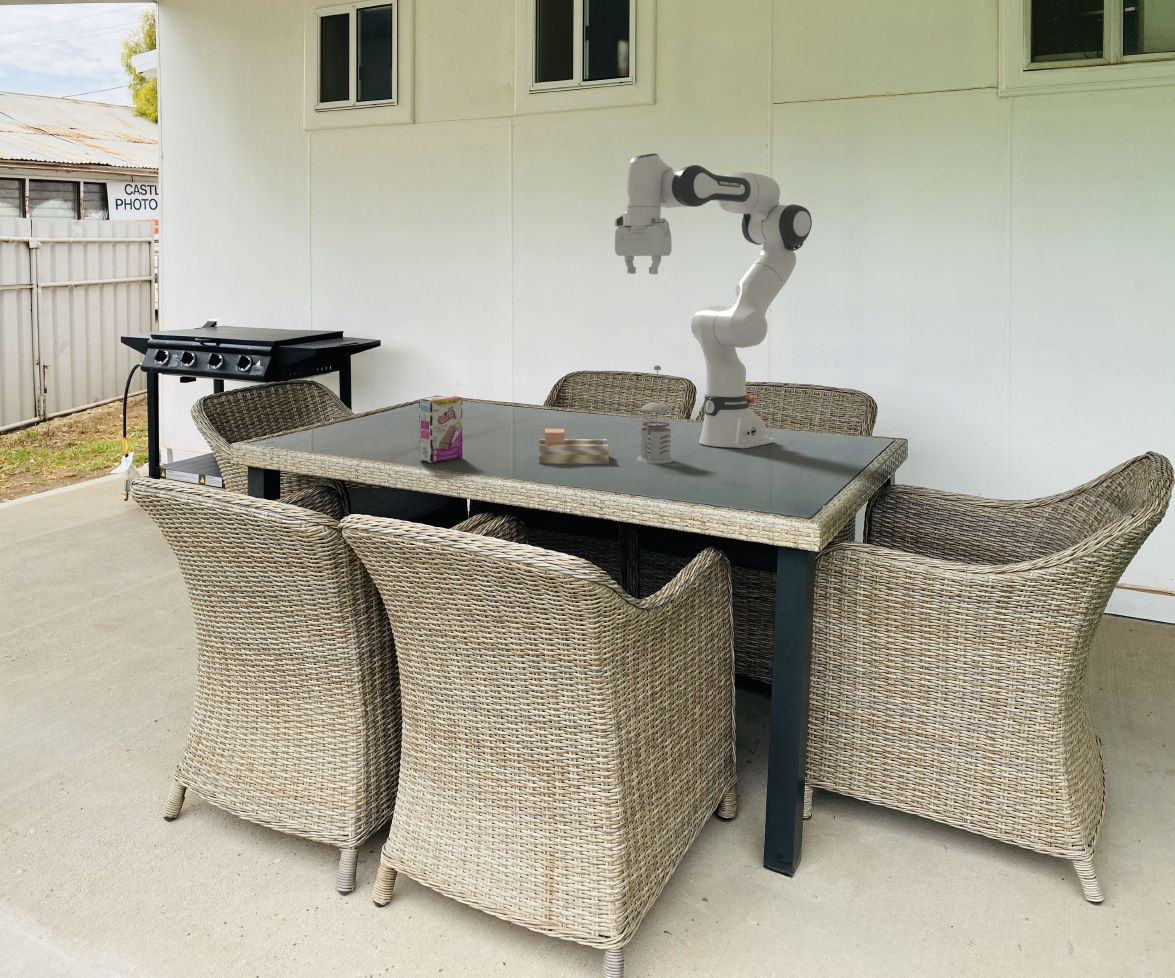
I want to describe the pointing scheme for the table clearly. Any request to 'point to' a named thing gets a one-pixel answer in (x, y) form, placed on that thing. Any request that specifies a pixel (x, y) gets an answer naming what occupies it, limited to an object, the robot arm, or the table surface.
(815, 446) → the table surface
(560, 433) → the block
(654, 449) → the french press
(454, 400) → the candy bar box
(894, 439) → the table surface
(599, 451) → the chute
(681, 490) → the table surface
